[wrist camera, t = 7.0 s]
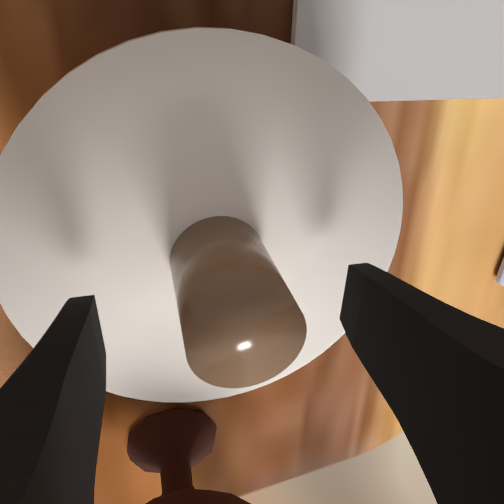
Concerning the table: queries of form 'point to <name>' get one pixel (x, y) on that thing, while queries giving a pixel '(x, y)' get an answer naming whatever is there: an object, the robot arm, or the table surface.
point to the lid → (197, 208)
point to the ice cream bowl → (176, 455)
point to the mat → (408, 45)
